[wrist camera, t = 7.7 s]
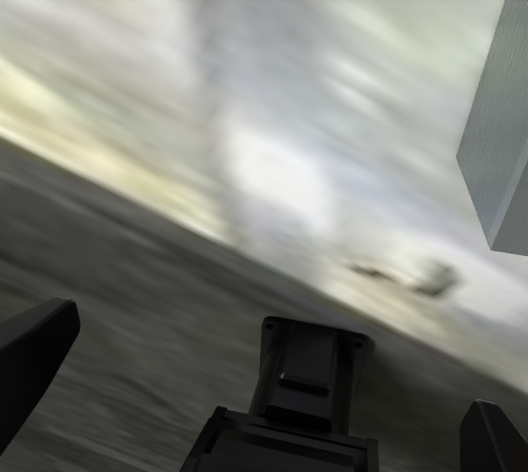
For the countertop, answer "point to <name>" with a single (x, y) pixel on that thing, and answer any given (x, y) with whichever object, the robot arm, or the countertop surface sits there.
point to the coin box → (501, 136)
